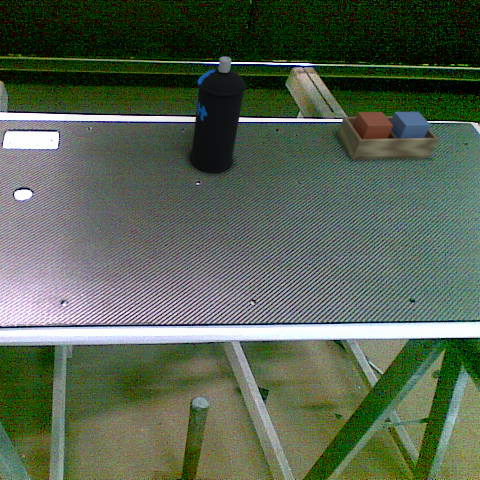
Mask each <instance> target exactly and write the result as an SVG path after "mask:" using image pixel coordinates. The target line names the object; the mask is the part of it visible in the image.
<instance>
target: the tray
mask: <svg viewBox="0 0 480 480" xmlns="http://www.w3.org/2000/svg"><path fill="white" fill-rule="evenodd" d="M356 117H357V116H343V118H342V121H341V123H340V127H339V129H338V132H337V134H336V136H337V138H338V139H339V142H341V144H342V146H343V147H344V149H345V150H346V152H347V153H348V155H349V157H350V159H351V160H352V161H356V160H358V161H363V160H364V161H365V160H409V159H411V160H413V159H430V157H431V156H432V153H433V152H434V151H435V148H436V146H437V144H438V143H439V141H440V138H439V137H438V136H437V135H436V134H435V133H434V132H433V131H432V130H431V129H430V128H429V129H428V131H427V133H426V135H425V137H424V138H399V139H398V138H397V137H396V136H395V134H394V133H393V132H392V131H391V132H390V134H389V136H388V138H387V139H361V137H360V136H359V135H358V133H357V132H356V130H355V129H354V127H353V125H354V122H355V120H356ZM386 117H387V118H388V120H389V121H390V122H391V120H392V117H393V115H392V116H391V115H390V116H386Z"/></svg>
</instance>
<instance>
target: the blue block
mask: <svg viewBox="0 0 480 480" xmlns="http://www.w3.org/2000/svg"><path fill="white" fill-rule="evenodd" d="M392 116H393V117H392V120H391V123H392V125H393V127H392V129H391V131H392V132H393V133H394V134H395V136H396V137H397V138H398V139H399V138H424V137H425V135H426V133H427V131H428V129H430V127H431V124H430V123H429V121H428V120H427V119H426V118H425V117H424V116H423V115H422V114H421V113H420V112H419V111H394V113H393V115H392Z"/></svg>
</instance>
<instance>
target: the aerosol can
mask: <svg viewBox="0 0 480 480" xmlns="http://www.w3.org/2000/svg"><path fill="white" fill-rule="evenodd" d="M231 65H232V58H231V57H230V56H224V55H223V56H221V57H219V60H218V67H217V68H213V69H212V68H211V69H210V70H208V71H207V72H205V73H204V74H202V75H201V76H200V77H199V78H198V80H197V86H198V90H197V100H196V110H195V120H194V127H193V128H194V129H193V138H192V149H191V154H190V156H189V160H190V163H191V165H192V166H193V167H195V168H196V169H197V170H199V171H201V172H204V173H210V174H219V173H223V172H225V171H228V170H229V169H230V168H232V166H233V164H234V160H233V159H234V158H233V155H234V149H235V143H236V138H237V133H238V127H239V121H240V117H241V116H240V115H241V110H242V105H243V99H244V94H245V91H246V90H247V83H246V81H245V80H244V79H243V77H242V76H241V75H240V73H238V72H237V71H235V70H232V69H231Z"/></svg>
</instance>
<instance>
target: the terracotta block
mask: <svg viewBox="0 0 480 480" xmlns="http://www.w3.org/2000/svg"><path fill="white" fill-rule="evenodd" d="M355 117H356V120H355V122H354V125H353V127H354V129H355V130H356V132H357V133H358V135H359V136H360V137H361V139H387V138H388V136H389V134H390V132H391V129H392V127H393V125H392V123H391V122H390V121H389V120H388V118H387V117H388V116H386V115H385V113H384V112H383V111H359V112H357V114H356V116H355Z"/></svg>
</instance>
